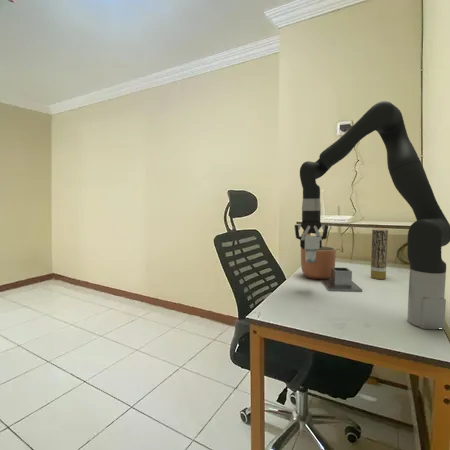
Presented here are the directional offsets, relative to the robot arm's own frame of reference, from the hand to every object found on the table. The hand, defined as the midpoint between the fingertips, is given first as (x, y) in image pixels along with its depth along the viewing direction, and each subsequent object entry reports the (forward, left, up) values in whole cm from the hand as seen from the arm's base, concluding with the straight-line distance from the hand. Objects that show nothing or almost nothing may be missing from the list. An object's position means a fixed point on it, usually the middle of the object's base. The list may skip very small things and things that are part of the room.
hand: (310, 248), depth 121 cm
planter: (+24, -8, -19) cm, 32 cm away
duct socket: (+8, -15, -19) cm, 25 cm away
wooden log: (+25, -38, -19) cm, 49 cm away
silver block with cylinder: (+2, 0, -6) cm, 6 cm away
